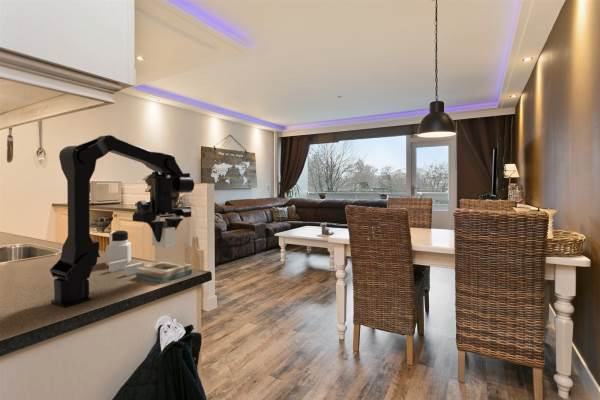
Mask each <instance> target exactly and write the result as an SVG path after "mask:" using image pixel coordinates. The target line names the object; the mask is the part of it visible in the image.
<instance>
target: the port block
mask: <svg viewBox="0 0 600 400" xmlns="http://www.w3.org/2000/svg"><path fill="white" fill-rule="evenodd" d="M191 273H193V264H191V263H190V264H189V263H184V262H179V261H178V262H177V261H173V260H169V259H168V260H162V261H158V262H155V263H151V264H150V263H149V264H147V265H144V266H142V267H138V268H136V274H135V276H136V278H137V279H142V280H147V281H150V282H156V283H159V282H160V283H159V284H164V283H167V282H170V281H173V280H172V279H174V280H176V278H177V279H179V277H180V278H183V277H185V275H186V276H188V274H189V275H192V274H191ZM182 276H183V277H182ZM169 280H170V281H169ZM166 281H167V282H166ZM163 282H164V283H163Z"/></svg>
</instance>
